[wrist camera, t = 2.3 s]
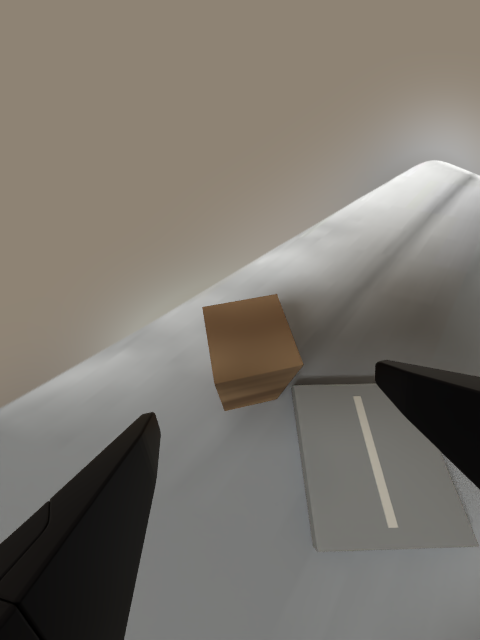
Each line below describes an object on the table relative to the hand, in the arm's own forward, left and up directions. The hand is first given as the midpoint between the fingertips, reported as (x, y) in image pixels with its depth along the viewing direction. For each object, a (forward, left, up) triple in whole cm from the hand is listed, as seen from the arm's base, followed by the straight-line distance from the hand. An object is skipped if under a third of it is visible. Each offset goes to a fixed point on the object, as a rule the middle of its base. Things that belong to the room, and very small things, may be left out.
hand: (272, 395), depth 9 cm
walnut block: (+3, -2, -11) cm, 11 cm away
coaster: (-7, -6, -11) cm, 14 cm away
